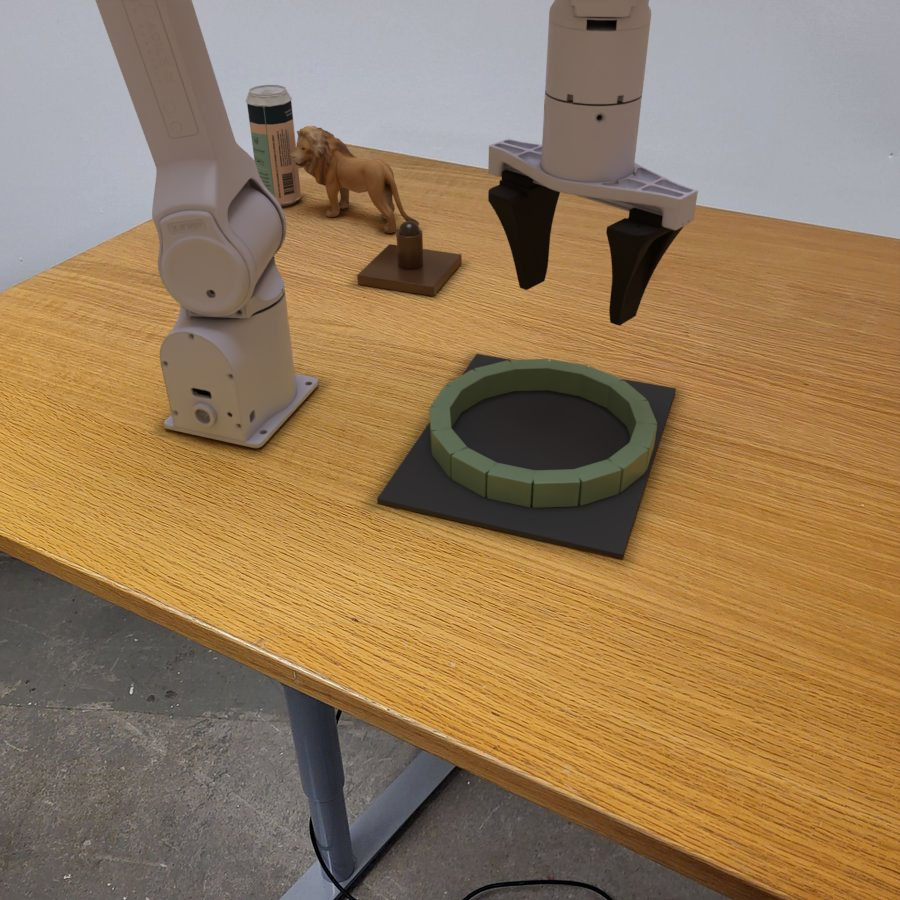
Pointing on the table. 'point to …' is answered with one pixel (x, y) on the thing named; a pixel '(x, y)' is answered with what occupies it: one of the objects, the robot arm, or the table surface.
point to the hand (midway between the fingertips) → (576, 301)
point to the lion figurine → (347, 173)
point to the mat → (532, 465)
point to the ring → (542, 484)
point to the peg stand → (410, 265)
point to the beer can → (274, 141)
